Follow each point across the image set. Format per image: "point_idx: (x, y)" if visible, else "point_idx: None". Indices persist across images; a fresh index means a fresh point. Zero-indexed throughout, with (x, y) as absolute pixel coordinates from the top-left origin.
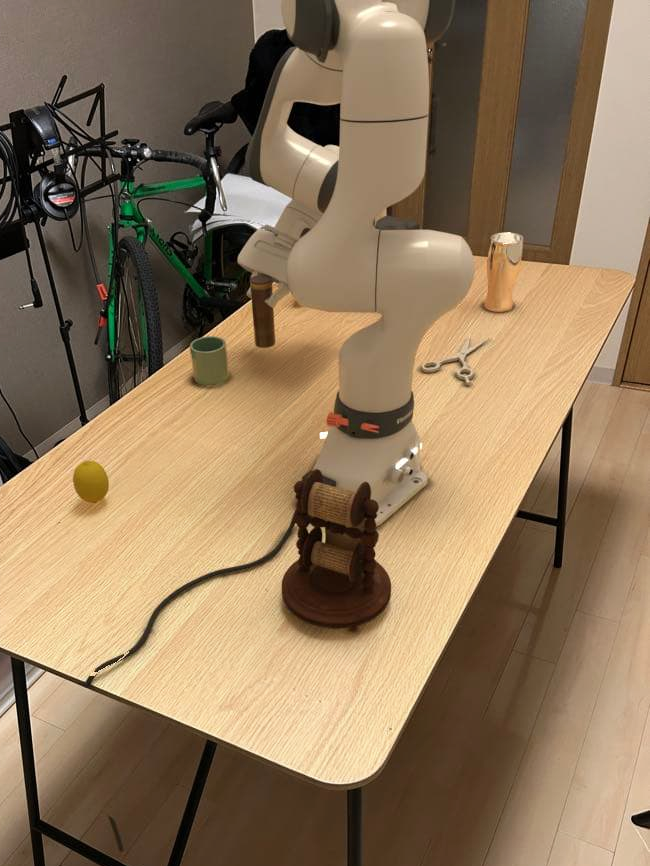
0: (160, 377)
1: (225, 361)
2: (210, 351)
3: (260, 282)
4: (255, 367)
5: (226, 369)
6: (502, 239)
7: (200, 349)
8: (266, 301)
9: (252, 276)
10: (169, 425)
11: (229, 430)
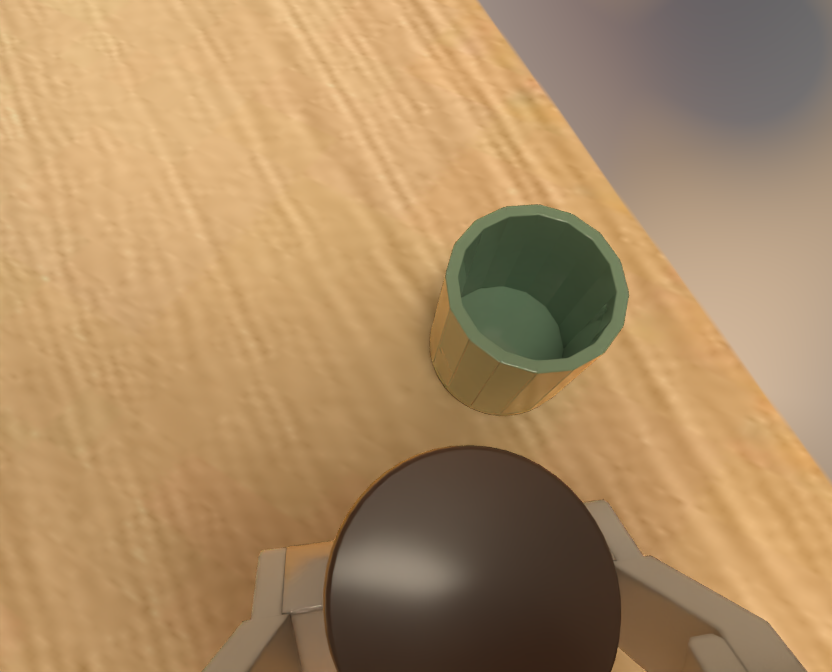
0: (618, 212)
1: (453, 358)
2: (457, 257)
3: (370, 521)
4: None
5: (450, 372)
6: None
7: (593, 300)
8: (306, 548)
9: (743, 629)
10: (299, 100)
11: (128, 220)
